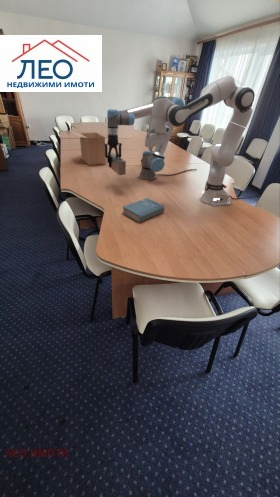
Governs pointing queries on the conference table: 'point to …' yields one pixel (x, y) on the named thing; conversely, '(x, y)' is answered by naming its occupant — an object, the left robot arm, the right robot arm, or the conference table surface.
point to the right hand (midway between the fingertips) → (155, 153)
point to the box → (92, 146)
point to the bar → (118, 164)
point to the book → (142, 209)
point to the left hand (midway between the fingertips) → (113, 166)
